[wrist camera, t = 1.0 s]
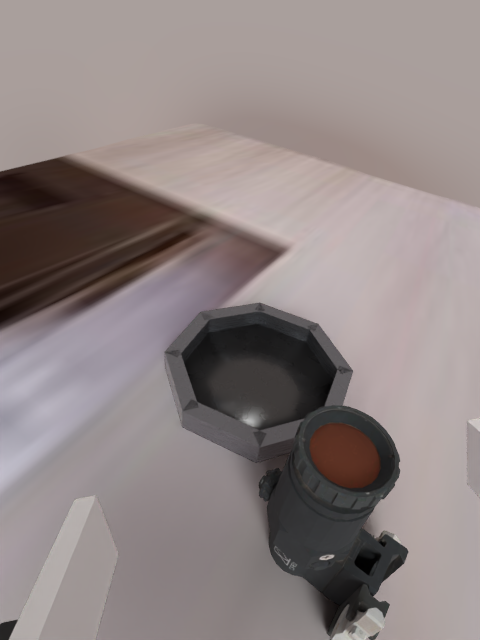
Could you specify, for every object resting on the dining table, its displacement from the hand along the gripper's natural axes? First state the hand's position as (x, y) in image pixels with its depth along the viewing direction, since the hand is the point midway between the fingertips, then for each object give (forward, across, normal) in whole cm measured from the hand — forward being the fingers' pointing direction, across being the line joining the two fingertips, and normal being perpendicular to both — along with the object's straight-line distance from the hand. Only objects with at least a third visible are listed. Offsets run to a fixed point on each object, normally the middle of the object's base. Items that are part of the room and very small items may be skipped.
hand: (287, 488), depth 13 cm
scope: (+11, +1, -16) cm, 19 cm away
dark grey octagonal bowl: (+26, 0, -8) cm, 27 cm away
